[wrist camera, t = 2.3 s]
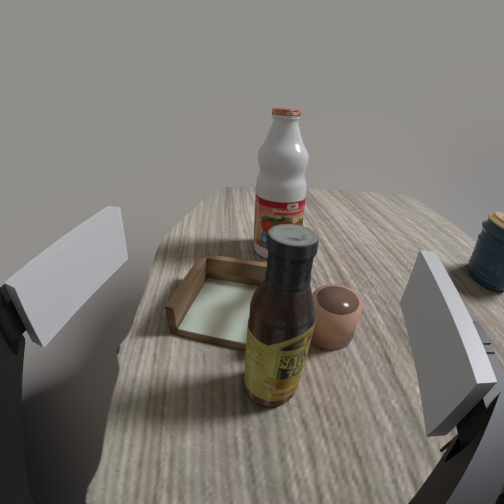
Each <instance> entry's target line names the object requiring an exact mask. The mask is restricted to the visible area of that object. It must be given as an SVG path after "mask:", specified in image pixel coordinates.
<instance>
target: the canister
mask: <svg viewBox="0 0 504 504" xmlns="http://www.w3.org/2000/svg"><path fill="white" fill-rule="evenodd" d="M488 218H489V219H488V220H486V221H483V223H482V226H483V229H482V232H481V233H480V234H479V235H478V239H477V242H476V245H475V248H474V251H473V253H472V256H471V257H470V260H469V264H468V271H469V273H470V274H471V276H472V277H473V278H474V279H475V280H476V281H477V282H479V283H480V284H481V285H483V286H485V287H486V288H489V289H491V290H494V291H504V213H501V212H494V213H489V214H488Z"/></svg>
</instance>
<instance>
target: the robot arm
mask: <svg viewBox="0 0 504 504" xmlns="http://www.w3.org/2000/svg"><path fill="white" fill-rule="evenodd" d="M127 259H128V253H127V248H126V242H125V236H124V229H123V223H122V217H121V208H120V207H112V206H108V207H106V208H104V209H103V210H101V211H100V212H98V213H97V214H95V215H94V216H92V217H91V218H89V219H88V220H87V221H85V222H83V223H82V224H80V225H79V226H77V227H76V228H75V229H73V230H72V231H70V232H69V233H67V234H66V235H65V236H63V237H62V238H60V239H59V240H58V241H57V242H55V243H54V244H52V245H51V246H50V247H48V248H47V249H46V250H44V251H43V252H42V253H40V254H39V255H38V256H37V257H35V258H34V259H32V260H31V261H30V262H29V263H28V264H26V265H25V266H24V267H23V268H21V269H20V270H19V271H18V272H16V273H15V274H14V275H13V276H12V277H10V278H9V279H8V280H7V281H6V282H5V283H4V285H3V286H2V287H0V504H33V502H32V500H31V496H30V492H29V486H28V481H27V474H26V466H25V458H24V448H23V436H22V435H23V434H22V374H23V359H24V349H25V338H24V336H23V333H24V332H25V330H27V332H28V334H29V336H30V338H31V340H32V341H33V342H34V343H36V344H38V345H40V346H42V347H43V348H44V347H45V346H46V345H47V344H48V343H49V341H50V340H51V339H52V338H53V337H54V336H55V335H56V333H57V332H58V331H59V330H60V329H61V328H62V327H63V326H64V325H65V323H66V322H67V321H68V320H69V319H70V318H71V317H72V316H73V315H74V314H75V312H76V311H77V310H78V309H79V308H80V307H81V306H82V305H83V304H84V303H85V302H86V300H88V299H89V298H90V296H91V295H92V294H93V293H94V292H95V291H96V290H97V289H98V288H99V287H100V286H101V285H102V284H103V283H104V282H105V281H106V280H107V279H108V278H109V277H110V276H111V275H112V274H113V273H114V272H115V271H116V270H117V269H118V268H119V267H120V266H121V265H122V264H123V263H124V262H125V261H126V260H127ZM400 305H401V309H402V312H403V316H404V320H405V324H406V328H407V332H408V336H409V340H410V344H411V349H412V353H413V358H414V362H415V367H416V372H417V377H418V383H419V388H420V394H421V400H422V407H423V414H424V421H425V429H426V437H430V436H442V435H447V434H448V433H449V432H450V431H451V430H452V429H453V428H454V427H455V426H457V431H458V435H456V436H455V437H454V438H453V439H452V440H451V441H449V442H448V443H447V444H446V445H445V446H443V447H442V449H441V450H440V451H441V452H443V451H444V450H445V449H446V448H447V450H446V451H445V453H444V455H443V456H442V458H441V459H440V461H439V462H438V464H437V465H436V467H435V468H434V470H433V471H432V473H431V474H430V476H429V477H428V479H427V480H426V481H425V483H424V484H423V486H422V487H421V488H420V490H419V491H418V492H417V494H416V495H415V496H414V497H413V499H412V500H411V501H410V502H409V504H504V374H503V371H502V369H501V366H500V364H499V361H498V359H497V356H496V354H494V353H495V352H494V349H493V347H492V345H490V344H491V342H490V340H489V338H488V336H487V334H486V332H485V331H484V329H483V328H482V327H481V326H480V325H479V323H478V322H474V321H472V319H471V317H470V315H469V313H468V311H467V309H466V307H465V305H464V303H463V301H462V299H461V297H460V295H459V293H458V291H457V289H456V288H455V286H454V284H453V282H452V280H451V278H450V277H449V275H448V273H447V271H446V270H445V268H444V266H443V264H442V263H441V261H440V259H439V258H438V256H437V254H436V253H435V252H431V251H425V250H419V253H418V256H417V259H416V262H415V265H414V268H413V271H412V273H411V276H410V279H409V281H408V284H407V287H406V289H405V292H404V294H403V297H402V299H401V302H400Z"/></svg>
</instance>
